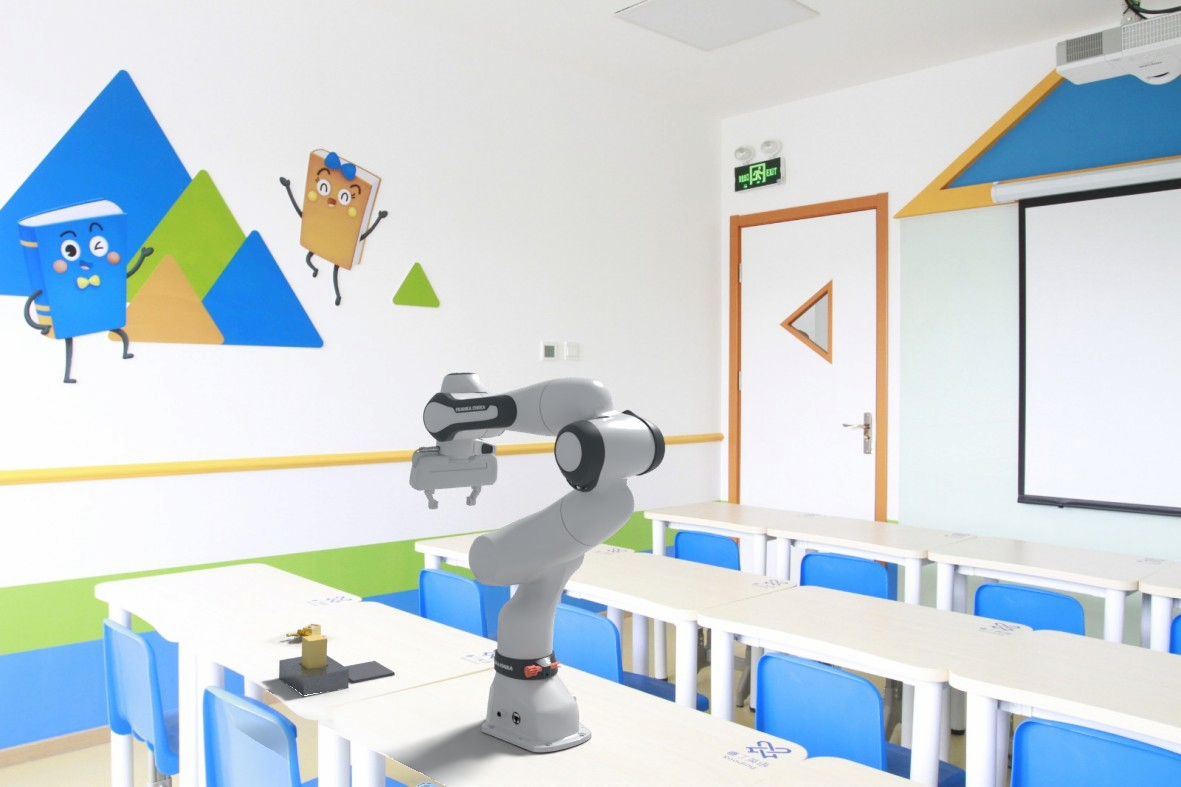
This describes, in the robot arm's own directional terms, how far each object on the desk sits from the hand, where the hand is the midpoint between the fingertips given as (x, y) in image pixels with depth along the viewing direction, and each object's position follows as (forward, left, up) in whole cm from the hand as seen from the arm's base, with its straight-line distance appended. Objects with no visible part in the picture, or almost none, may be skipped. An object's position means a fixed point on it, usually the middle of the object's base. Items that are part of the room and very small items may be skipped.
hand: (452, 506), depth 199 cm
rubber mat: (+17, +11, -40) cm, 45 cm away
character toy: (+49, +13, -40) cm, 65 cm away
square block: (+17, +23, -40) cm, 49 cm away
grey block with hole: (+17, +23, -40) cm, 49 cm away
